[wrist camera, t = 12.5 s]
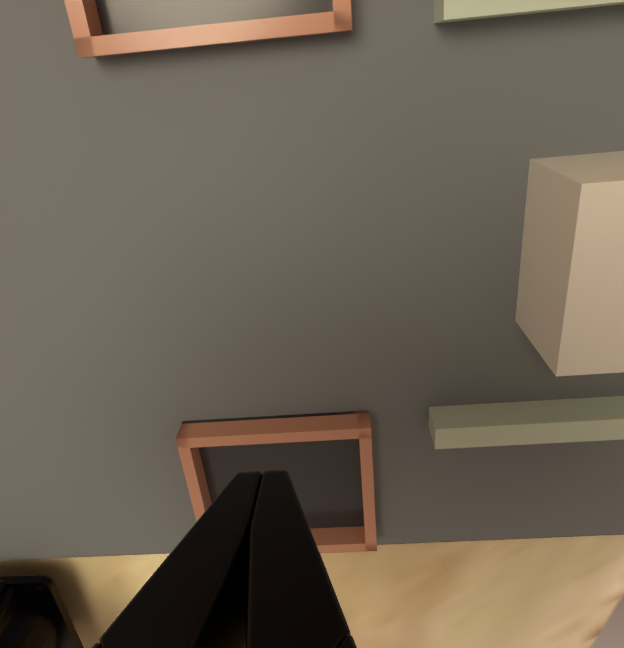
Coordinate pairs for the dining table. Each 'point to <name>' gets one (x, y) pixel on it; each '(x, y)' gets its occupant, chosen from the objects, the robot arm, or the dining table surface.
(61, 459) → the track mat
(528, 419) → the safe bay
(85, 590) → the dining table surface
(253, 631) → the robot arm
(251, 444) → the frame
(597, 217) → the cream block
